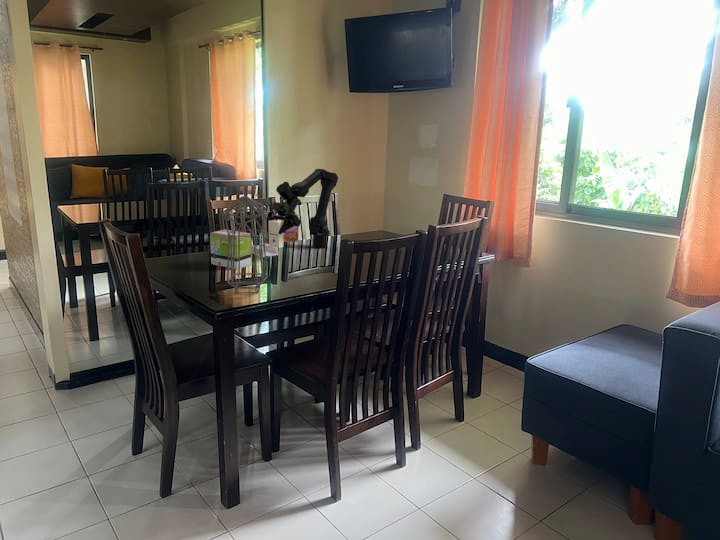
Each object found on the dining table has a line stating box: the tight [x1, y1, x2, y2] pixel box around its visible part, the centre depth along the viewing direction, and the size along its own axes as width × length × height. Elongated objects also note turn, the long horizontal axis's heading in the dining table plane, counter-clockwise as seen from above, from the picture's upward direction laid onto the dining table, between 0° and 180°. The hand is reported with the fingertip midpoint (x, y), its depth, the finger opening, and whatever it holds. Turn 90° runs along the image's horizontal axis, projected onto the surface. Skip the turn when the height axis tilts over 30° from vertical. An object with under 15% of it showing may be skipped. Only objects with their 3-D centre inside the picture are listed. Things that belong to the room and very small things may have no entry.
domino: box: [268, 220, 284, 249], centre depth 243 cm, size 6×3×12 cm, turn 57°
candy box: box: [280, 212, 300, 243], centre depth 284 cm, size 9×4×15 cm, turn 109°
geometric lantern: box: [219, 195, 270, 294], centre depth 190 cm, size 16×16×35 cm
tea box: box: [209, 228, 252, 270], centre depth 230 cm, size 15×10×15 cm
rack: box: [251, 242, 279, 258], centre depth 254 cm, size 13×9×4 cm
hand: (273, 232), depth 241 cm, fingers closed on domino, 6 cm apart
